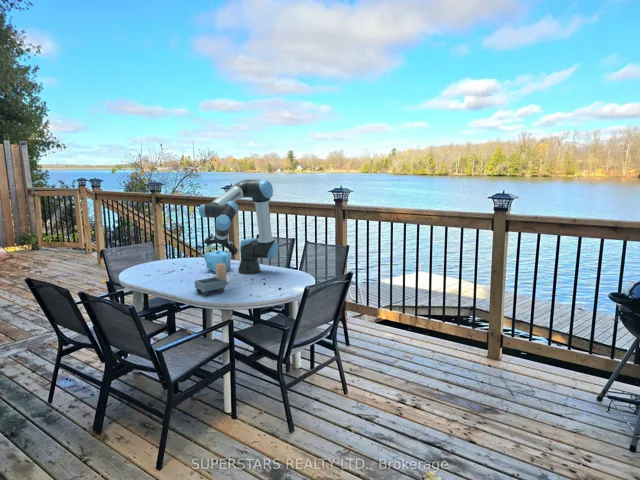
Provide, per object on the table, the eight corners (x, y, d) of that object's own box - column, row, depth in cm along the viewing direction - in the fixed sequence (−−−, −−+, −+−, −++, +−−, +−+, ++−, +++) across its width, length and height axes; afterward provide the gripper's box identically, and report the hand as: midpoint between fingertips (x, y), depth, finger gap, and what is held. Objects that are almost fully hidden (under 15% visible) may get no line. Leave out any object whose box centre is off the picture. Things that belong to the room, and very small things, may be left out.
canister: (223, 281, 251) (222, 262, 249) (228, 283, 247) (228, 264, 245) (214, 282, 247) (213, 264, 245) (219, 285, 242) (219, 265, 240)
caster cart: (215, 288, 235) (215, 276, 234) (225, 292, 227) (225, 280, 226) (195, 292, 226) (194, 280, 224) (204, 297, 218) (204, 284, 217)
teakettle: (211, 267, 288) (210, 247, 285) (236, 268, 285) (235, 248, 283) (200, 273, 269) (199, 252, 267) (226, 275, 267) (226, 253, 264)
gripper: (197, 232, 221) (198, 251, 238) (240, 247, 223) (237, 264, 240) (203, 222, 225) (203, 241, 242) (245, 237, 227) (241, 254, 244)
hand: (220, 253), depth 241 cm, fingers open, 13 cm apart
